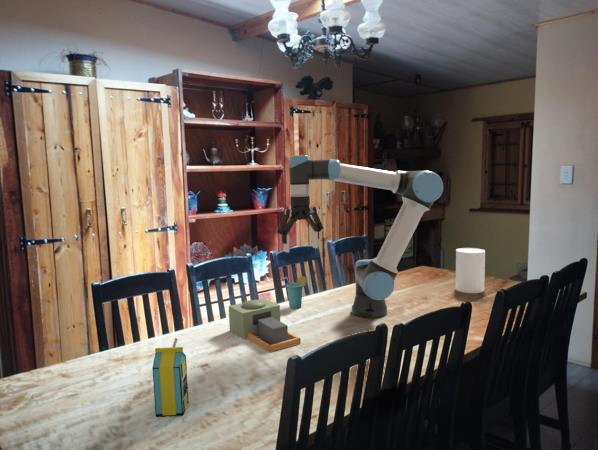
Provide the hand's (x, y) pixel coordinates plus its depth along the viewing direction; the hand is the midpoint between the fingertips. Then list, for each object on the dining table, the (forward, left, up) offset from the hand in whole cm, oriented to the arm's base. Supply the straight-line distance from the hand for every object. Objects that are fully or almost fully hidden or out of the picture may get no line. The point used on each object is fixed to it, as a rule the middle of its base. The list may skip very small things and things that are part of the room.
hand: (301, 249), depth 180 cm
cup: (-10, -22, -31) cm, 39 cm away
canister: (-96, +8, -31) cm, 101 cm away
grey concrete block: (+18, +6, -31) cm, 36 cm away
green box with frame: (+18, +1, -31) cm, 36 cm away
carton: (+64, +32, -31) cm, 78 cm away
